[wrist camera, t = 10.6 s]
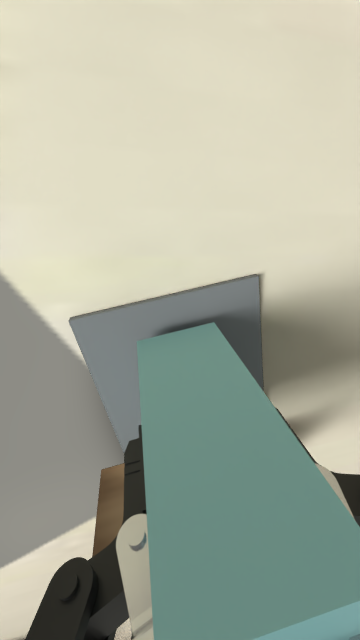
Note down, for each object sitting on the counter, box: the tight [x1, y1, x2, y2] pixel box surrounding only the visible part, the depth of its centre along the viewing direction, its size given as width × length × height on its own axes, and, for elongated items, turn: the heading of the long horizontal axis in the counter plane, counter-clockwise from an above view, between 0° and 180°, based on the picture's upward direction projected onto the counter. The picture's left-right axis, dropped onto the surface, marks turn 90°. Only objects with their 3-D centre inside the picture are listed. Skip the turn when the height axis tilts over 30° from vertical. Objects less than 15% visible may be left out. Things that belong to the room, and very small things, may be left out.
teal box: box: [137, 322, 360, 640], centre depth 10 cm, size 4×7×10 cm, turn 10°
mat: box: [69, 274, 264, 452], centre depth 15 cm, size 10×10×1 cm
